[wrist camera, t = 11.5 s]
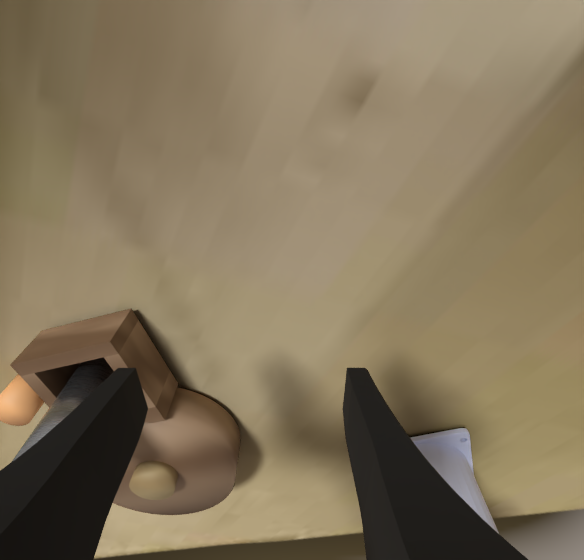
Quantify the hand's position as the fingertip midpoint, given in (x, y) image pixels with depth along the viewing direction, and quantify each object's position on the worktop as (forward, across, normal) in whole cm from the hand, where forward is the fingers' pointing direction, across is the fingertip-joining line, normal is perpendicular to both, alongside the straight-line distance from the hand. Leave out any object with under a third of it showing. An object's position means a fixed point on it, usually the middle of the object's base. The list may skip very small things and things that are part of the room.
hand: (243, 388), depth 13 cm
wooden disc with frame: (+9, +9, +12) cm, 17 cm away
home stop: (+9, +16, +9) cm, 21 cm away
